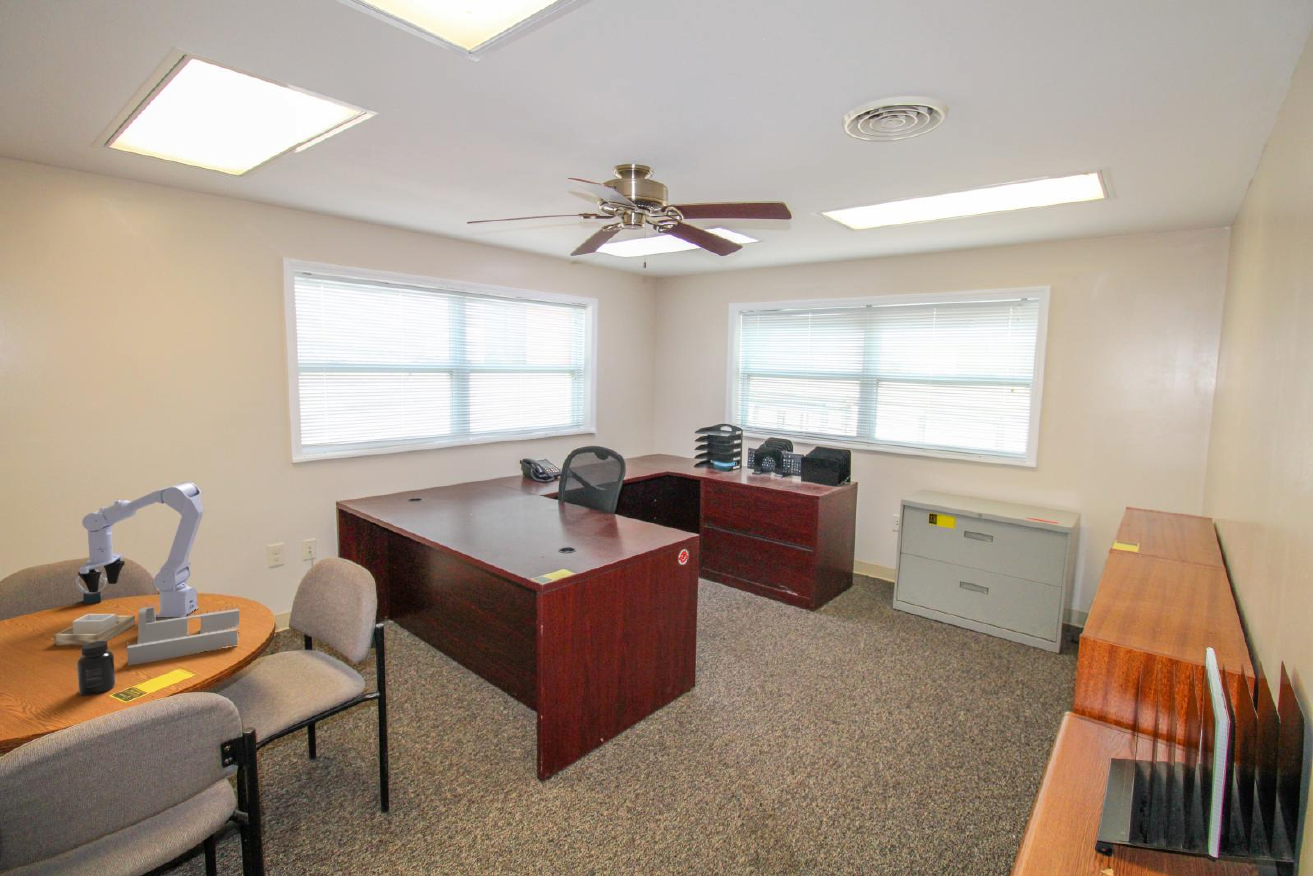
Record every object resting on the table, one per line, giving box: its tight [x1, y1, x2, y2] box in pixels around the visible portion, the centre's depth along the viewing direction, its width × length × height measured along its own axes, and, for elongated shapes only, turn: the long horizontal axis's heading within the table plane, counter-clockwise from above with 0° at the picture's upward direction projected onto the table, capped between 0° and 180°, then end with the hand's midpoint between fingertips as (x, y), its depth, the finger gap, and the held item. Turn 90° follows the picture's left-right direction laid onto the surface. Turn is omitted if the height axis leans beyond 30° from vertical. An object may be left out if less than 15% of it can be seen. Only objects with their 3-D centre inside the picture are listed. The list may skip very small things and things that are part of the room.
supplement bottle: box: [76, 641, 116, 696], centre depth 152 cm, size 7×7×12 cm
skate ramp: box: [126, 602, 241, 667], centre depth 181 cm, size 25×23×10 cm
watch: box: [75, 569, 108, 605], centre depth 206 cm, size 6×8×11 cm
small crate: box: [72, 613, 117, 634], centre depth 182 cm, size 8×5×5 cm
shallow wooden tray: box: [53, 615, 136, 646], centre depth 182 cm, size 12×14×3 cm
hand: (103, 587), depth 195 cm, fingers open, 7 cm apart
